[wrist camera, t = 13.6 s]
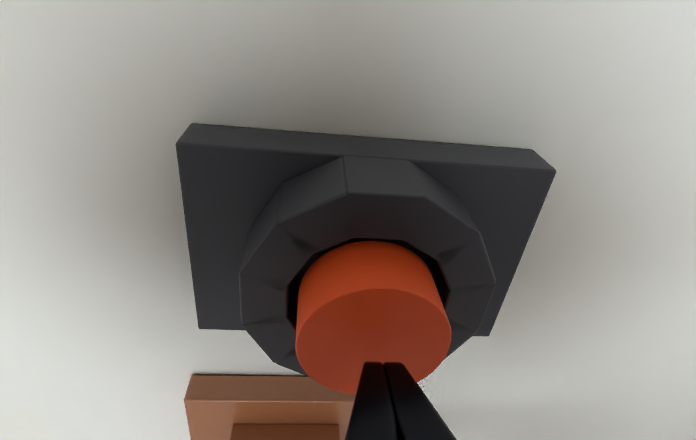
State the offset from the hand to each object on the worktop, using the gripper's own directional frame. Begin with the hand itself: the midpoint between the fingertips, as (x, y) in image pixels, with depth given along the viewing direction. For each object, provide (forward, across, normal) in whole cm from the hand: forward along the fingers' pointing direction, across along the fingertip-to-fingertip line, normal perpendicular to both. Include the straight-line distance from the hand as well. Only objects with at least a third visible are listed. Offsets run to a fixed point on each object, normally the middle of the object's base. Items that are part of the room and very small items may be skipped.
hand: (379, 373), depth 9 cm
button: (+2, 0, 0) cm, 2 cm away
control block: (+6, 0, 0) cm, 6 cm away
